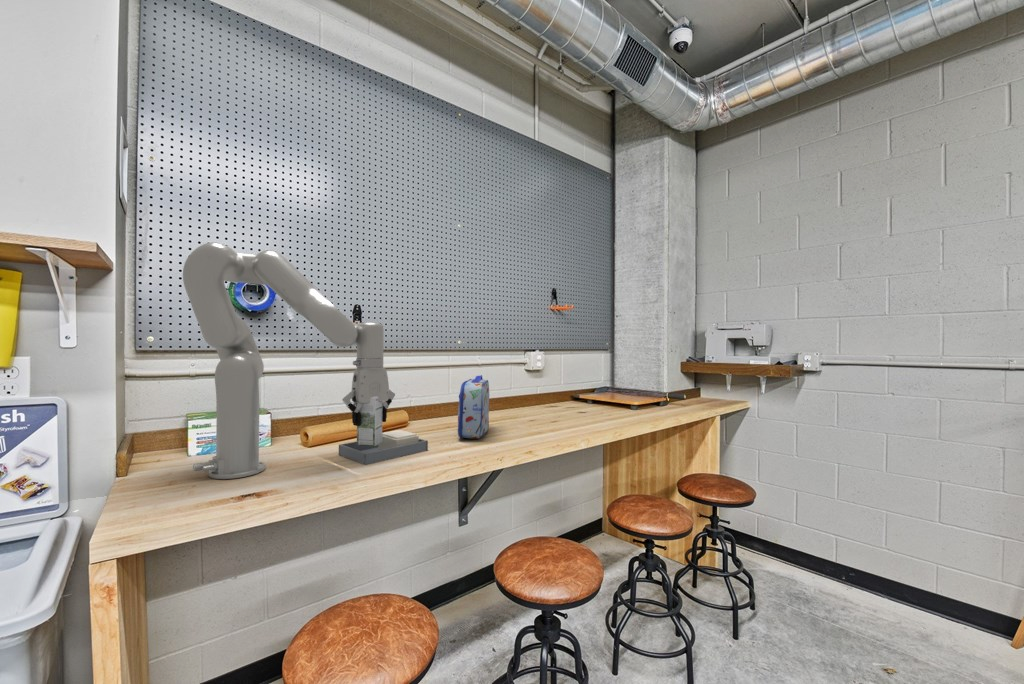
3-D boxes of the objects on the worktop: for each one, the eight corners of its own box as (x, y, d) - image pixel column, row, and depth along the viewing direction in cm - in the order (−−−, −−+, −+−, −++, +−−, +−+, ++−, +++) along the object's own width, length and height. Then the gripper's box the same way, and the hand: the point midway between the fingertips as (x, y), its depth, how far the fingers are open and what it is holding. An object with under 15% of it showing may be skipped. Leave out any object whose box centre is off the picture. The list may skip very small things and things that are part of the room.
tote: (365, 468, 116) (365, 453, 116) (338, 458, 126) (338, 444, 126) (427, 453, 132) (427, 440, 132) (399, 445, 142) (399, 433, 142)
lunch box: (465, 426, 174) (465, 373, 174) (490, 427, 174) (490, 373, 174) (454, 442, 147) (455, 379, 147) (484, 442, 147) (485, 379, 147)
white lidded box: (396, 454, 126) (396, 438, 126) (378, 449, 133) (378, 433, 133) (418, 449, 132) (418, 433, 132) (399, 444, 139) (400, 429, 139)
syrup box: (383, 441, 128) (383, 394, 128) (374, 446, 122) (375, 396, 122) (364, 441, 128) (365, 393, 128) (355, 446, 123) (356, 396, 123)
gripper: (348, 365, 116) (348, 429, 116) (402, 363, 129) (402, 421, 129) (335, 364, 121) (335, 426, 121) (388, 362, 134) (388, 417, 134)
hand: (369, 423), depth 125 cm, fingers closed on syrup box, 7 cm apart
